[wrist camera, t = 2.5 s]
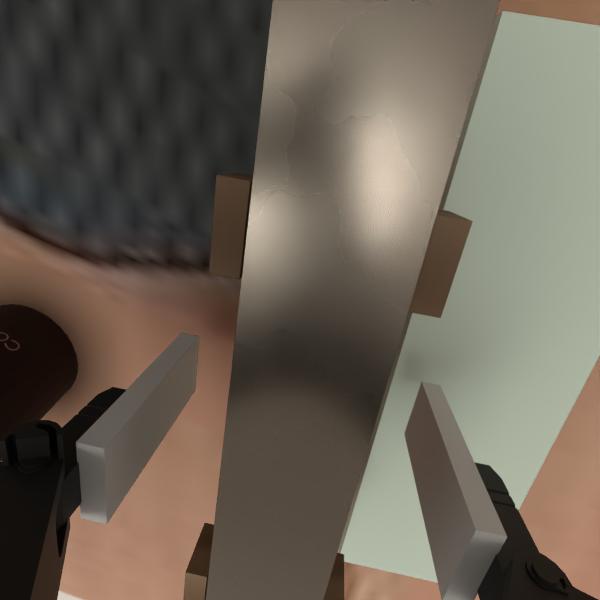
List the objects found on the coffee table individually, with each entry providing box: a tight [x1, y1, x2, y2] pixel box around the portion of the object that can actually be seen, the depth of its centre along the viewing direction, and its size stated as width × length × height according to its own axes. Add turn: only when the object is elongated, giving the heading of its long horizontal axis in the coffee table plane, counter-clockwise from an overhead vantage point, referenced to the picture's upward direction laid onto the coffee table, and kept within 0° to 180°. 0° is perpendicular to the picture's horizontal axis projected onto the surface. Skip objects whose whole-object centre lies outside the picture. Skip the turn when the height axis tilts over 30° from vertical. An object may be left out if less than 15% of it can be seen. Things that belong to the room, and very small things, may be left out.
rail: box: [206, 0, 500, 600], centre depth 11 cm, size 24×4×4 cm, turn 171°
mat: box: [339, 11, 600, 583], centre depth 19 cm, size 30×9×1 cm, turn 171°
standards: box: [184, 173, 473, 600], centre depth 15 cm, size 20×6×9 cm, turn 171°
